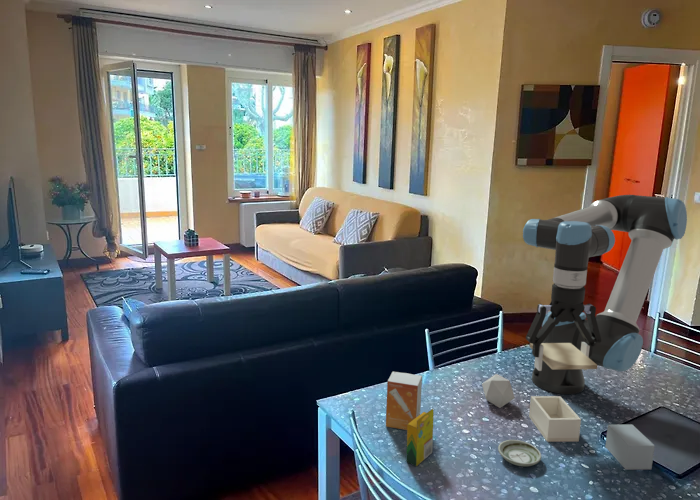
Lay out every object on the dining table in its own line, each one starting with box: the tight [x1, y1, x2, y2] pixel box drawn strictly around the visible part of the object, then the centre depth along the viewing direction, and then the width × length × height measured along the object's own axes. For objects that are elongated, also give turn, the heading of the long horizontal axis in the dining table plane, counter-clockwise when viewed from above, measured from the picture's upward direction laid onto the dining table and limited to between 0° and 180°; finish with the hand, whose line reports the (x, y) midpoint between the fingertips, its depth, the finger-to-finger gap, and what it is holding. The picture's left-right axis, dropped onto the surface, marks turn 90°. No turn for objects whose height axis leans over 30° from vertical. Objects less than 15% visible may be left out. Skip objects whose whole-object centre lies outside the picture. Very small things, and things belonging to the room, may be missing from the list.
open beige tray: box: [528, 395, 582, 443], centre depth 134 cm, size 8×12×6 cm, turn 2°
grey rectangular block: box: [604, 423, 656, 471], centre depth 122 cm, size 6×9×6 cm, turn 2°
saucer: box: [497, 439, 542, 467], centre depth 121 cm, size 10×10×2 cm
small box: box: [385, 371, 423, 431], centre depth 135 cm, size 8×6×13 cm
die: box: [481, 373, 516, 409], centre depth 147 cm, size 8×9×10 cm
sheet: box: [529, 342, 599, 370], centre depth 130 cm, size 11×14×1 cm
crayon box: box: [406, 408, 434, 467], centre depth 120 cm, size 7×3×12 cm, turn 140°
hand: (560, 368), depth 131 cm, fingers closed on sheet, 11 cm apart
